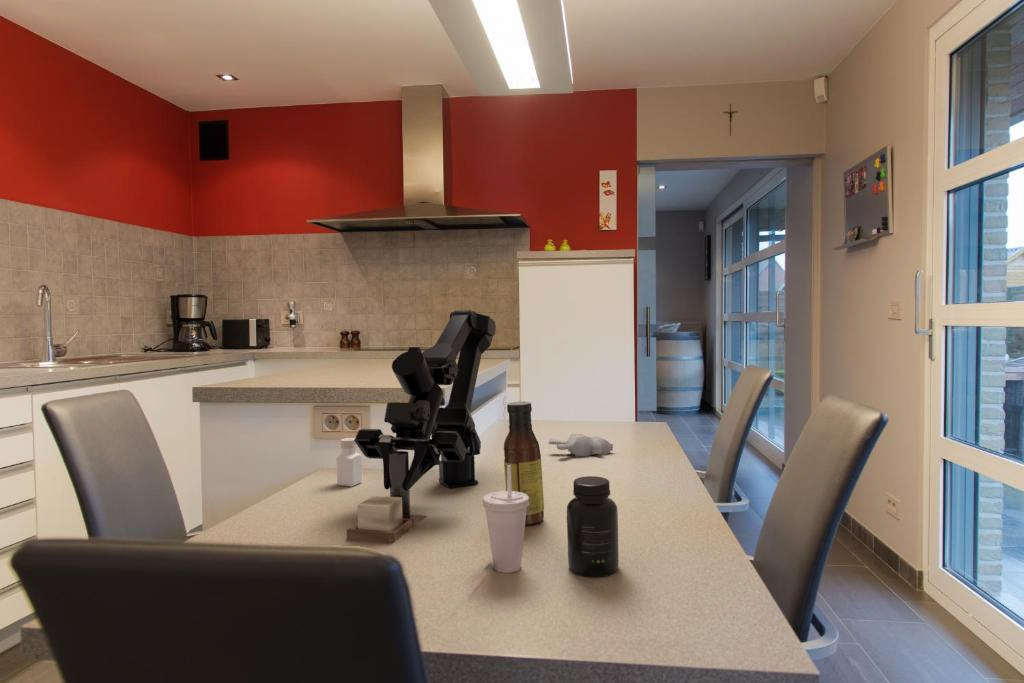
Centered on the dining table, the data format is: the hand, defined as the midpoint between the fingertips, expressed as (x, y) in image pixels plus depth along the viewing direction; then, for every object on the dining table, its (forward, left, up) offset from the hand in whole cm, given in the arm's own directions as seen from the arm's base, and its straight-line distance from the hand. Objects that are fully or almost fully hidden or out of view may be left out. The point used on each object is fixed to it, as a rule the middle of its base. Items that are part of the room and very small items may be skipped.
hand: (395, 488), depth 101 cm
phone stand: (+2, +2, -6) cm, 7 cm away
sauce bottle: (-20, +7, -7) cm, 22 cm away
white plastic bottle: (+1, -32, -7) cm, 33 cm away
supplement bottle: (-19, +29, -7) cm, 35 cm away
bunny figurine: (-55, -30, -7) cm, 63 cm away
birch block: (+4, +4, -5) cm, 8 cm away
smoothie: (-9, +23, -7) cm, 26 cm away
